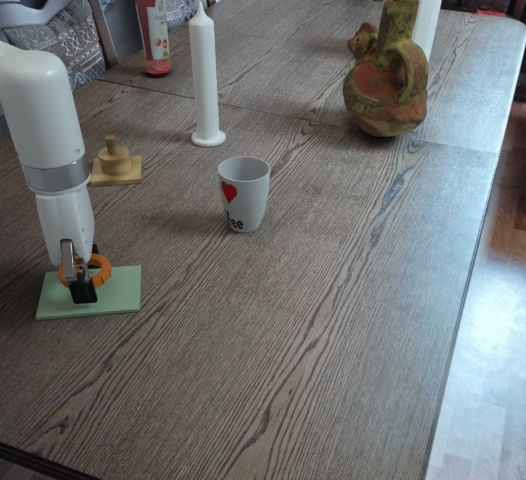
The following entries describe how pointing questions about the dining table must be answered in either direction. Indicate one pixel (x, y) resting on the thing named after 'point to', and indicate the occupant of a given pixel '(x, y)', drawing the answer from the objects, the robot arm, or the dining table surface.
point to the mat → (109, 294)
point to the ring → (97, 279)
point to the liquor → (154, 36)
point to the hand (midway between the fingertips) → (88, 283)
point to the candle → (204, 80)
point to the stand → (115, 165)
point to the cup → (244, 191)
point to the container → (425, 24)
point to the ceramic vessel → (387, 73)
